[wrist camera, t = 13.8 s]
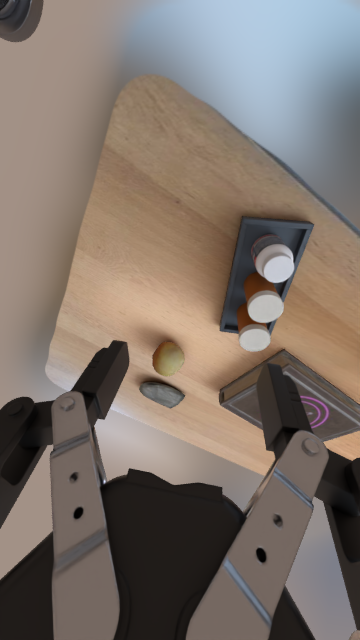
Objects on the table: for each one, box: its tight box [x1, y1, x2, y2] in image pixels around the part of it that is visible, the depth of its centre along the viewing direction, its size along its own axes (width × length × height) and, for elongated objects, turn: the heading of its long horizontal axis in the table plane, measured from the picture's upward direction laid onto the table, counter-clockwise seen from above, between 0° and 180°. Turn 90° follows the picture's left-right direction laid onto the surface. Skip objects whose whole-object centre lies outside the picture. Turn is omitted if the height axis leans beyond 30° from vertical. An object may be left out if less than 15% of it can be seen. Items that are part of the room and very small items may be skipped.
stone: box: [139, 382, 185, 408], centre depth 63 cm, size 13×9×3 cm
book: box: [219, 349, 360, 442], centre depth 56 cm, size 30×22×5 cm
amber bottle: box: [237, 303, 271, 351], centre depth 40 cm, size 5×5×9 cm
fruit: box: [153, 342, 185, 376], centre depth 50 cm, size 8×8×8 cm
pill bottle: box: [251, 234, 294, 283], centre depth 33 cm, size 5×5×9 cm
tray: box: [220, 216, 314, 335], centre depth 40 cm, size 23×11×2 cm, turn 177°
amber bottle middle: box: [244, 272, 284, 323], centre depth 36 cm, size 5×5×9 cm
